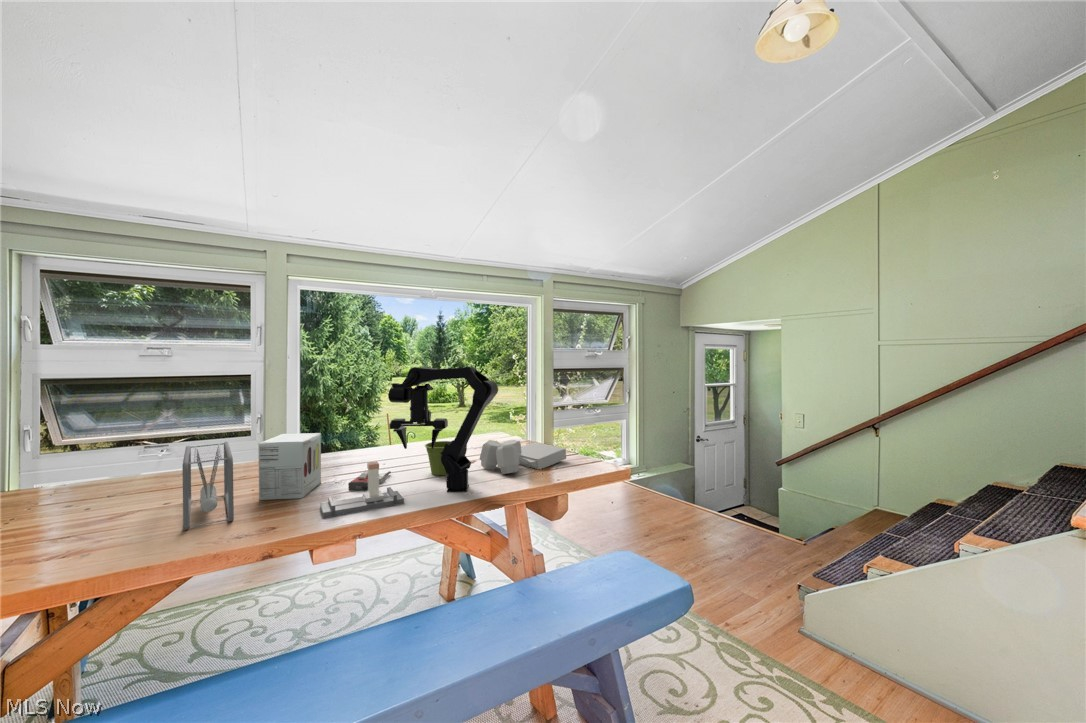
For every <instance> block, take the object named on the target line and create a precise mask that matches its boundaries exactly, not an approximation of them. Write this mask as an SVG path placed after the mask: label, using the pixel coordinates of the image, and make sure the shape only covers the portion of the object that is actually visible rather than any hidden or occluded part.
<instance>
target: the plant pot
mask: <svg viewBox="0 0 1086 723" xmlns="http://www.w3.org/2000/svg"><path fill="white" fill-rule="evenodd" d="M450 441H451V440H450ZM450 441H449V440H442V441H441V440H440V441H439V440H438V441H437V440H436V442H435V445H434V448H433V449H432V446H431V443H432V441H431V442H427V443H426V444H424V447H425V448H426V453H427V456H428V461H429V467H430V472H431V474H432V475H433V476H440V475H441V476H447V475H448V474H446V471H445V468H444V466H443V464H442V462H441V455H442V454H440V453H441V452H442V451H443V449H444V446H445V444H446V443H448V442H450Z"/></svg>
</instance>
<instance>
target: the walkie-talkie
mask: <svg viewBox="0 0 1086 723" xmlns="http://www.w3.org/2000/svg"><path fill="white" fill-rule="evenodd" d="M390 474H391V471H389V470H388V471H387V472H386V473H385V474H383V475H379V485H382V483H384V482H385V481H386V477H387V478H388V476H389V475H390ZM347 489H348V491H349V492H350V491H368V470H364V471H363V472H361V473H360V474H359V475H358V476H357V477H356V478H354V479H352V480H350V482H348V488H347Z"/></svg>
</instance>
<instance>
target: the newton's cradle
mask: <svg viewBox="0 0 1086 723" xmlns="http://www.w3.org/2000/svg"><path fill="white" fill-rule="evenodd" d="M221 445H223V456H222V450H221V447H220V446H221ZM211 446H213V449H214V451H215V453H214V454H213V451H211V452H208V453H210V454H212V457H208V459H210V458H213V456H214V455H215V456H214V459H210V460H202V459H204V457H206V456H208V454H206V455H203V457H202V458H201V455H202V454H204V452H202V453H200V452H201V450H199V448H202V447H211ZM214 446H215V447H214ZM216 446H217V447H216ZM191 449H194V453H193V454H194V455H193V456H194V457H193V461H192V460H191V459H192V452H191V451H192V450H191ZM206 449H207V450H206ZM203 450H205V452H207V451H210V449H209V450H208V448H203ZM219 461H223V489H224V491H223V493H224V494H223V495H217V488H216V486H215V485H214V484H215V480H216V476H217V474H216V473H217V470H218V465H219ZM209 462H214V463H213V466H212V471H211V475H210V479H209V483H207V479H206V476H205V471H204V469H203V465H202V463H209ZM193 464H197V466H198V470H199V474H200V478H201V481H202V485H203V486H202V487H201V489H200V495H199V496H200V498H198V499H193V500H192V465H193ZM222 497H224V502H225V507H226V513H227V514H226V515H227V518H225V519H220V520H219V519H218V520H216V521H215V520H214V521H210V522H204V523H201V524H193V525H190V520H191V508H192V507H191V506H192V502H199V501H200V502H199V509H200V510H201V511H202V512H204V513H210V512H213V511H215V509H217V507H218V498H222ZM234 508H235V507H234V459H233V454H232V452H231V447H230V445H229V442H228V441H224V442H223V443H222V442H221V443H220V442H219V443H212V444H204V445H193V446H190V445H186V446H185V449H184V456H183V461H182V523H183V524H182V525H183V531H188V530H189V529H191V528H195V527H200V526H206V525H211V524H215V523H220V522H221V523H222V522H227V521H228V522H230V521H231V522H232V521H234V519H235V518H234V517H235V514H234V511H235V510H234ZM187 529H188V530H187Z"/></svg>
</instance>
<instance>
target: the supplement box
mask: <svg viewBox="0 0 1086 723" xmlns="http://www.w3.org/2000/svg"><path fill="white" fill-rule="evenodd" d="M321 437H322V433H321V432H314V433H313V432H310V433H309V432H307V433H306V432H303V433H301V432H299V433H281V434H278V435H276V436H273V437H271V438H269V439H266V440H263V441H261V442H259V443H258V500H259V501H268V500H292V499H303V498H304V497H305V496H306V495H307V494H309V493H310V492H311V491H312V490H314V489H316V488H317V487H318V486H319V485H320V484H322V442H321V441H322V438H321Z"/></svg>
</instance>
